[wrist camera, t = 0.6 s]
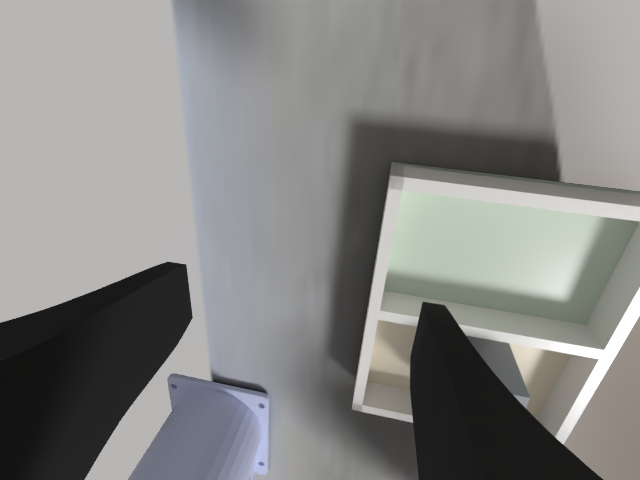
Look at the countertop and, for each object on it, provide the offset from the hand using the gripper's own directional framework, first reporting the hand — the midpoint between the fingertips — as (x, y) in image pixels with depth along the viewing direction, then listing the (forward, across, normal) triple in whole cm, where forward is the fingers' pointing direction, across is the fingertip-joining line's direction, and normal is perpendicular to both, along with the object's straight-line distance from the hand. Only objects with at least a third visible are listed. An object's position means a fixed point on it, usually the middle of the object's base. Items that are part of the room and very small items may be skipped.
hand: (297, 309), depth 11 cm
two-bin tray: (+10, -8, +5) cm, 14 cm away
